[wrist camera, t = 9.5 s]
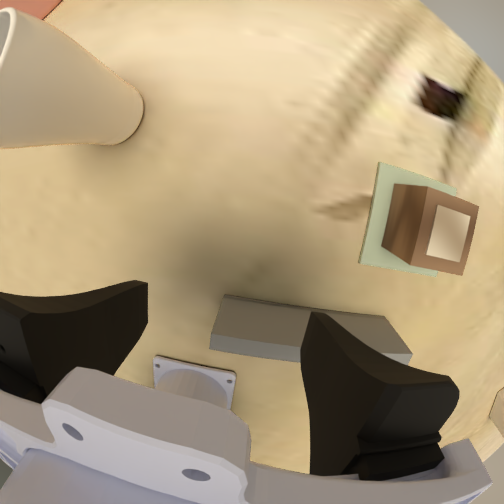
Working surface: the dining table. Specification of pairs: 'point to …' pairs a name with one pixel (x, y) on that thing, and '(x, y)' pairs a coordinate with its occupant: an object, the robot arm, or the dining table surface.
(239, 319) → the grey block
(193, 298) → the dining table surface
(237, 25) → the dining table surface
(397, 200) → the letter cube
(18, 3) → the cake
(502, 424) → the medicine bottle
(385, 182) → the pad
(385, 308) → the dining table surface
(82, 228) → the dining table surface
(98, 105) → the beige paper cup
